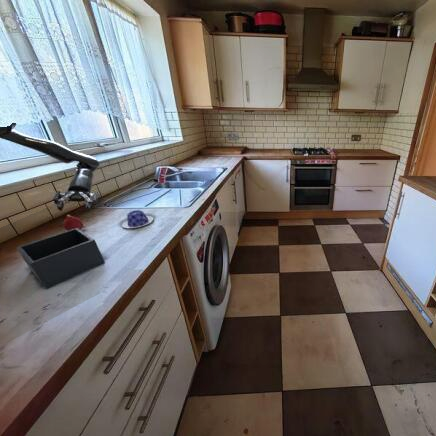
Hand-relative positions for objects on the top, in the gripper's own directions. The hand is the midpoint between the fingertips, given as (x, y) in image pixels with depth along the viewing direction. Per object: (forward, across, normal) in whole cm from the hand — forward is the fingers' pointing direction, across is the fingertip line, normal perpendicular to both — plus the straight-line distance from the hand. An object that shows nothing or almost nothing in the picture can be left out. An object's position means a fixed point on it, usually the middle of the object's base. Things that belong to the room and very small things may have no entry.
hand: (73, 209), depth 98 cm
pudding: (+11, -24, +2) cm, 27 cm away
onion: (+11, -2, -3) cm, 12 cm away
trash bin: (+36, -6, +8) cm, 38 cm away
